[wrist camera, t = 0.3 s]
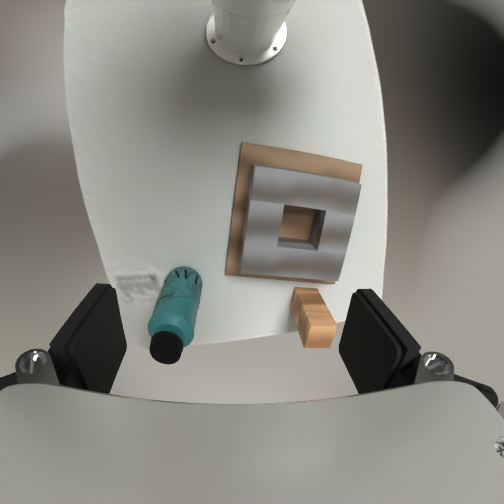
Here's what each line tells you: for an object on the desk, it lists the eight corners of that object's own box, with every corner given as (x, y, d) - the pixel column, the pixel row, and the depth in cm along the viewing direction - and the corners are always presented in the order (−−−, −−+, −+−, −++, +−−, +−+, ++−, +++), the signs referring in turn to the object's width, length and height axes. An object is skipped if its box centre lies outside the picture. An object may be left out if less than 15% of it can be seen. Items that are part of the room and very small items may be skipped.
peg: (294, 287, 52) (310, 325, 41) (317, 288, 52) (337, 326, 41) (290, 307, 54) (304, 347, 42) (311, 308, 54) (329, 347, 43)
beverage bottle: (211, 276, 50) (203, 353, 31) (188, 300, 51) (172, 380, 33) (182, 253, 48) (156, 323, 29) (160, 279, 49) (129, 354, 31)
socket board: (241, 142, 42) (243, 142, 36) (359, 164, 44) (376, 168, 39) (225, 272, 50) (225, 288, 44) (333, 281, 52) (343, 297, 47)
